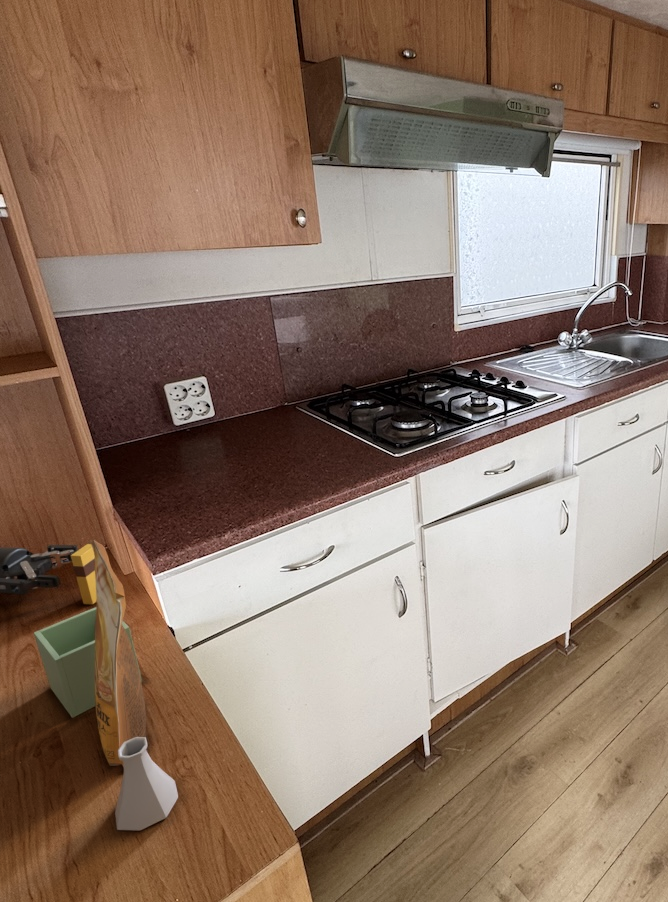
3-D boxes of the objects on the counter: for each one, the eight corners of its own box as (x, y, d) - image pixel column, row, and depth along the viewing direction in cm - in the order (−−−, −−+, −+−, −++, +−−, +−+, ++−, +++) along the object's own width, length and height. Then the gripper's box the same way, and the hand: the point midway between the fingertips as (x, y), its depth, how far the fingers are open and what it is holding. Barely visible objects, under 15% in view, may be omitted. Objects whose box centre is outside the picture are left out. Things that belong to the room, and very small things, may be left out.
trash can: (72, 718, 88) (55, 660, 84) (50, 687, 94) (33, 632, 90) (142, 681, 95) (129, 627, 92) (118, 655, 101) (105, 603, 97)
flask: (183, 775, 79) (171, 718, 76) (173, 823, 72) (158, 763, 69) (123, 789, 77) (107, 731, 73) (106, 840, 70) (88, 779, 67)
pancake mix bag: (150, 680, 95) (115, 529, 86) (163, 763, 81) (123, 592, 71) (101, 697, 92) (60, 541, 82) (105, 787, 77) (55, 610, 68)
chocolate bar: (82, 604, 114) (69, 555, 111) (99, 590, 119) (87, 543, 115) (93, 604, 114) (80, 556, 111) (109, 591, 119) (97, 544, 115)
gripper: (30, 563, 123) (104, 566, 122) (-31, 603, 110) (51, 607, 109) (21, 532, 121) (96, 535, 120) (-43, 569, 107) (41, 572, 107)
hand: (74, 569), depth 114 cm, fingers open, 8 cm apart
